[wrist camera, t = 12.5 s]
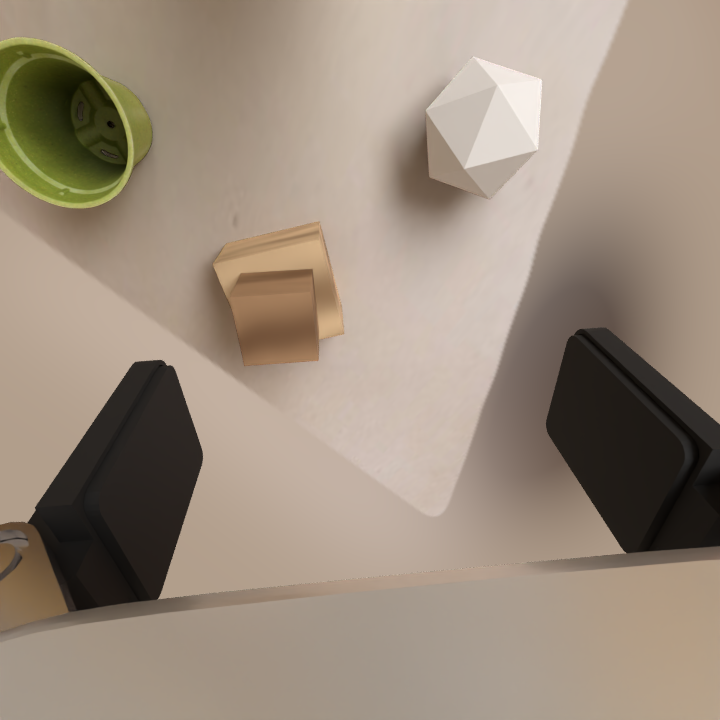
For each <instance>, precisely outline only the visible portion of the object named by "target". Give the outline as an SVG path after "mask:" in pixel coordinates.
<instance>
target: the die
mask: <svg viewBox="0 0 720 720" xmlns="http://www.w3.org/2000/svg"><path fill="white" fill-rule="evenodd" d="M541 91H542V79H539V78H536V77H533V76H530V75H527V74H524V73H521V72H518V71H515V70H512V69H509V68H506V67H503V66H500V65H497V64H494V63H491V62H488V61H485V60H482V59H479V58H476V57H472V58H471V59H470V60H469V61H468V62H467V64H466V65H465V66H464V67H463V68H462V69H461V71H460V72H459V73H458V74H457V75H456V76H455V77H454V79H453V80H452V81H451V82H450V83H449V84H448V85H447V87H446V88H445V89H444V90H443V91H442V92H441V93H440V95H439V96H438V97H437V98H436V99H435V100H434V101H433V103H432V104H431V105H430V106H429V107H428V108H427V109H426V111H425V112H426V130H427V147H428V165H429V177H430V178H433V179H435V180H438V181H441V182H443V183H446V184H449V185H452V186H454V187H457V188H460V189H462V190H465V191H468V192H471V193H473V194H476V195H479V196H482V197H484V198H487V199H491V197H492V196H493V195H494V194H495V193H496V192H497V191H498V190H499V189H500V188H501V187H502V186H503V185H504V184H505V183H506V182H507V181H508V180H509V179H510V178H511V177H512V176H513V175H514V174H515V173H516V172H517V171H518V170H519V169H520V168H521V167H522V166H523V165H524V164H525V163H526V162H527V161H528V160H529V159H530V158H531V156H532V155H533V154H534V153H535V152H536V151H537V150H538V138H539V123H540V107H541Z"/></svg>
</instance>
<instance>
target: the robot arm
mask: <svg viewBox="0 0 720 720" xmlns="http://www.w3.org/2000/svg"><path fill="white" fill-rule="evenodd" d="M546 428H547V432H548V434H549V436H550V438H551V439H552V441H553V442H554V444H555V446H556V447H557V449H558V450H559V452H560V453H561V455H562V456H563V458H564V459H565V461H566V462H567V464H568V466H569V467H570V469H571V470H572V472H573V473H574V475H575V476H576V478H577V480H578V481H579V483H580V484H581V486H582V487H583V489H584V490H585V492H586V494H587V495H588V497H589V498H590V499H591V501H592V503H593V504H594V505H595V507H596V509H597V511H598V512H599V514H600V515H601V517H602V518H603V520H604V521H605V523H606V524H607V526H608V527H609V529H610V531H611V532H612V534H613V535H614V537H615V538H616V540H617V541H618V543H619V545H620V546H621V548H622V549H623V550H624V551H625V552H626V554H615V555H604V556H593V557H582V558H571V559H559V560H548V561H538V562H527V563H515V564H506V565H505V564H504V565H494V566H483V567H473V568H462V569H453V570H441V571H430V572H420V573H410V574H399V575H389V576H379V577H368V578H358V579H348V580H338V581H328V582H319V583H308V584H298V585H288V586H278V587H269V588H258V589H250V590H238V591H229V592H219V593H209V594H201V595H192V596H184V597H175V598H167V599H159V600H157V599H158V598H159V596H160V594H161V591H162V588H163V585H164V582H165V579H166V575H167V572H168V569H169V566H170V562H171V560H172V557H173V553H174V550H175V547H176V544H177V541H178V538H179V535H180V531H181V528H182V525H183V522H184V519H185V516H186V513H187V509H188V506H189V503H190V500H191V497H192V494H193V490H194V488H195V484H196V481H197V478H198V475H199V472H200V469H201V466H202V461H203V453H202V448H201V445H200V442H199V439H198V436H197V433H196V430H195V427H194V424H193V421H192V418H191V416H190V413H189V410H188V407H187V404H186V401H185V398H184V395H183V392H182V389H181V386H180V383H179V380H178V377H177V374H176V371H175V369H174V368H173V366H167V365H166V363H165V362H164V361H162V360H154V361H141V362H135V363H134V364H133V365H132V366H131V368H130V369H129V371H128V372H127V373H126V375H125V376H124V378H123V379H122V381H121V382H120V384H119V385H118V387H117V388H116V390H115V391H114V392H113V394H112V395H111V397H110V398H109V400H108V401H107V403H106V404H105V406H104V407H103V409H102V410H101V411H100V413H99V414H98V416H97V418H96V419H95V420H94V422H93V423H92V425H91V426H90V428H89V429H88V431H87V432H86V434H85V435H84V436H83V438H82V439H81V441H80V443H79V444H78V445H77V447H76V448H75V450H74V451H73V453H72V454H71V456H70V457H69V459H68V460H67V462H66V463H65V465H64V466H63V467H62V469H61V470H60V472H59V473H58V475H57V476H56V478H55V479H54V481H53V482H52V483H51V485H50V486H49V488H48V489H47V491H46V492H45V494H44V495H43V497H42V498H41V500H40V501H39V503H38V504H37V506H36V507H35V509H36V511H35V513H34V514H33V515H32V517H31V519H30V520H29V522H28V523H25V522H9V523H5V524H1V525H0V720H720V424H718V423H717V422H716V421H715V420H714V419H713V418H711V417H710V416H709V415H708V414H707V413H706V412H704V411H703V410H702V409H701V408H700V407H699V406H697V405H696V404H695V403H694V402H693V401H692V400H690V399H689V398H688V397H687V396H686V395H685V394H683V393H682V392H681V391H680V390H679V389H677V388H676V387H675V386H674V385H673V384H672V383H671V382H669V381H668V380H667V379H666V378H665V377H663V376H662V375H661V374H660V373H659V372H658V371H656V370H655V369H654V368H653V367H652V366H651V365H649V364H648V363H647V362H646V361H645V360H643V359H642V358H641V357H640V356H639V355H638V354H636V353H635V352H634V351H633V350H632V349H631V348H629V347H628V346H627V345H626V344H625V343H623V341H621V340H620V339H619V338H618V337H617V336H615V335H614V334H613V333H612V332H611V331H609V330H608V329H607V328H590V329H580V330H578V331H577V332H576V333H575V334H574V336H571V337H570V338H569V339H568V341H567V344H566V348H565V352H564V356H563V360H562V363H561V367H560V371H559V375H558V378H557V383H556V386H555V390H554V394H553V397H552V401H551V405H550V409H549V413H548V416H547V420H546Z"/></svg>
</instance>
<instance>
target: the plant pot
mask: <svg viewBox="0 0 720 720" xmlns="http://www.w3.org/2000/svg"><path fill="white" fill-rule="evenodd" d="M80 102H83V104H84V107H83V112H82V117H83V120H82V121H80V120H79V118H78V115H77V110H78V105H79V103H80ZM108 121H111V122H113V123H114V127H113V128H110V127H109V126H108V125H107V122H108ZM151 142H152V126H151V122H150V119H149V117H148V115H147V113H146V111H145V109H144V107H143V106H142V104H141V102H140V101H139V99H138V98H137V97H136V96H135V95H134V94H133V93H132V92H131V91H130V90H129V89H127V88H126V87H125V86H123V85H122V84H120V83H118V82H115V81H113V80H111V79H109V78H106V77H104V76H101V75H100V74H99V73H98V72H97V71H96V70H95V69H94V68H93V67H91V66H90V65H89V64H88V63H87V62H85V61H84V60H83V59H81V58H80V57H78V56H77V55H75V54H74V53H72V52H70V51H68V50H67V49H65V48H63V47H61V46H58V45H56V44H53V43H50V42H47V41H44V40H40V39H35V38H24V37H17V38H10V39H7V40H3V41H0V169H1V170H2V171H3V172H4V173H5V174H6V175H7V176H8V177H9V178H10V179H11V180H12V181H13V182H15V183H16V184H17V185H18V186H20V187H21V188H22V189H24V190H25V191H27V192H28V193H30V194H32V195H33V196H35V197H37V198H39V199H41V200H43V201H46V202H48V203H51V204H54V205H57V206H61V207H66V208H75V209H83V208H91V207H96V206H99V205H101V204H104V203H106V202H108V201H110V200H111V199H113V198H114V197H115V196H117V195H118V194H119V193H120V192H121V191H122V190H123V188H124V187H125V185H126V184H127V182H128V180H129V178H130V176H131V173H132V170H133V166H135V165H136V164H137V163H138V162H139V161H141V160H142V159H143V158H144V157H145V155H146V154H147V152H148V151H149V148H150V146H151ZM101 149H103V150H105V151H107V152H109V153H111V154H114V155H118V158H116V159H115V158H111V157H108V156H106V155H104V154H103V153H102V152H101Z"/></svg>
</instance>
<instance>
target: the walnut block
mask: <svg viewBox="0 0 720 720" xmlns="http://www.w3.org/2000/svg"><path fill="white" fill-rule="evenodd" d="M229 299H230V303H231V308H232V312H233V317H234V321H235V326H236V330H237V335H238V339H239V344H240V348H241V353H242V357H243V362H244V366H250V365H264V364H278V363H292V362H306V361H318V359H319V326H318V316H317V306H316V296H315V287H314V277H313V269H300V270H284V271H268V272H252V273H241V274H240V276H239V278H238V280H237V282H236V284H235V286H234V288H233V291H232V293H231V295H230V297H229Z"/></svg>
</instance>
